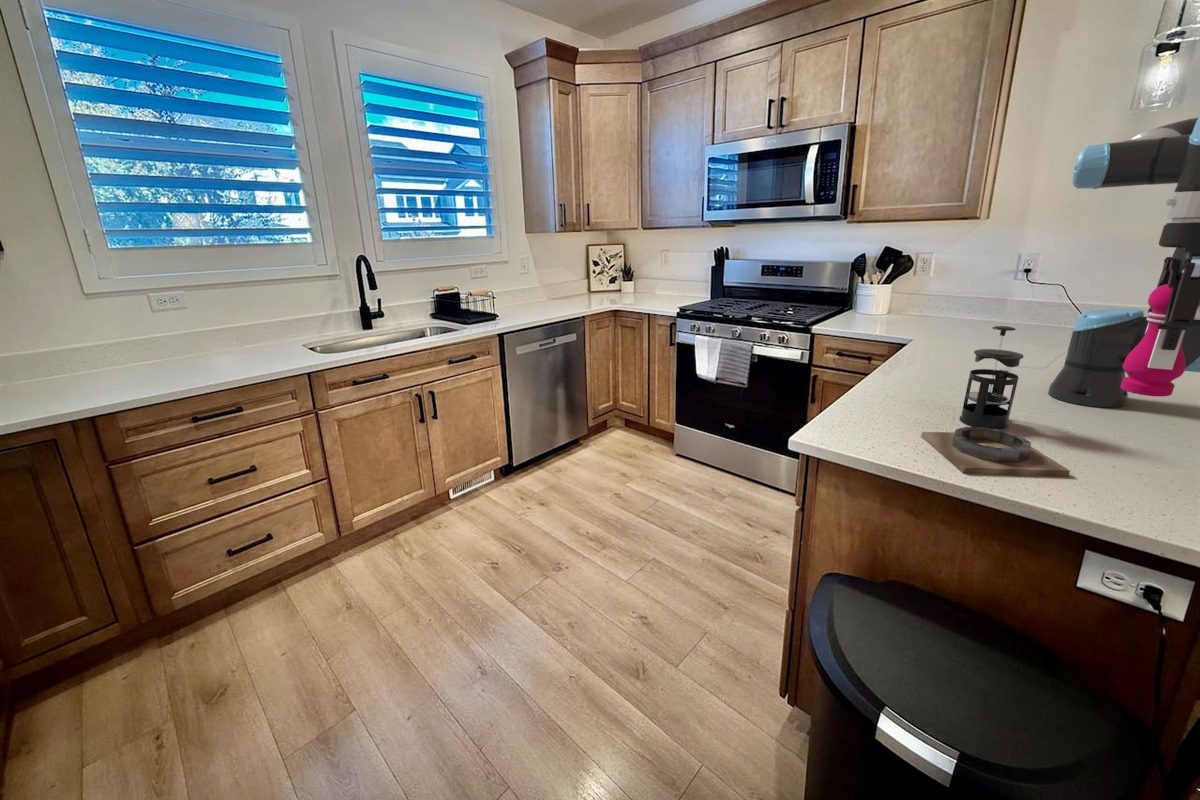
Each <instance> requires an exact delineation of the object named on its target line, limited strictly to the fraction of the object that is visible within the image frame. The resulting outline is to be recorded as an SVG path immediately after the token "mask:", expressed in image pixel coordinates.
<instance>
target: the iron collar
mask: <svg viewBox="0 0 1200 800" xmlns="http://www.w3.org/2000/svg"><path fill="white" fill-rule="evenodd" d="M954 432H955V434H954V438H953V443H952V446H953V447H955V448H956V449H957V450H958V451H960V452H962V453H964V454H967V455H970V456H972V457H975V458H978V459H983V460H988V461H993V462H1002V463H1018V462H1022V461H1025V460H1028V458H1029V454H1030V450H1031V447H1032V441H1030V440H1028V439H1026V438H1025V437H1023V436H1021V435H1019V434H1016V433H1013V432H1010V431H1007V430H1005V429H1003V430H998V429H992V428H986V427H972V426H965V427H960V428H956V429H955V431H954ZM969 440H986V441H991V442H997V443H1001V444H1003V445H1006V446H1009V447H1012V448H996V447H990V446H985V445H981V444H978V443H975V442H972V441H969Z"/></svg>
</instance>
